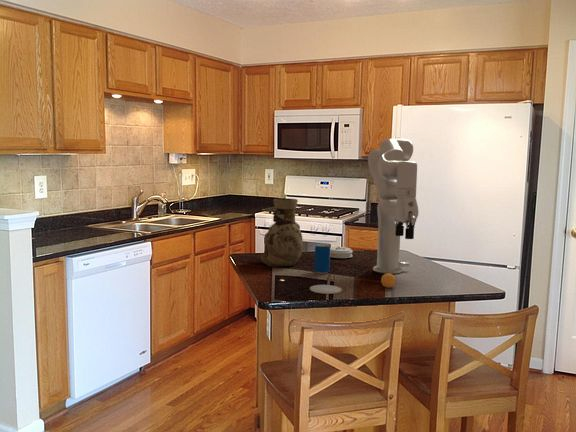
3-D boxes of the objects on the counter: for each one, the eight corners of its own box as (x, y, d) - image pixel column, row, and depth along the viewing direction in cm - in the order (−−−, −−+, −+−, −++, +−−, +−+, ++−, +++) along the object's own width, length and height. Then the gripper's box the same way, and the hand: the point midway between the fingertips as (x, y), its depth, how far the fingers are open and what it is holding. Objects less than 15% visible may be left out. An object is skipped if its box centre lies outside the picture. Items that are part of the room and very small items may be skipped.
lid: (339, 253, 264) (339, 244, 264) (357, 258, 255) (358, 248, 254) (321, 256, 256) (321, 246, 256) (340, 261, 247) (340, 250, 246)
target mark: (336, 284, 200) (336, 284, 200) (345, 293, 189) (345, 292, 189) (306, 285, 198) (306, 285, 198) (314, 294, 186) (314, 293, 186)
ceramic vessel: (255, 268, 226) (256, 200, 222) (264, 258, 246) (266, 196, 243) (298, 270, 223) (300, 202, 219) (304, 261, 244) (306, 197, 240)
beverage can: (328, 274, 217) (329, 246, 216) (313, 273, 218) (314, 245, 217) (330, 271, 223) (331, 244, 222) (315, 270, 225) (316, 243, 223)
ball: (391, 285, 202) (392, 271, 201) (397, 289, 196) (398, 274, 196) (378, 285, 201) (379, 271, 200) (384, 289, 195) (384, 275, 195)
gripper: (424, 194, 190) (422, 240, 192) (406, 192, 207) (404, 234, 209) (405, 194, 189) (403, 240, 191) (388, 192, 206) (387, 234, 207)
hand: (404, 237), depth 200 cm, fingers open, 9 cm apart
